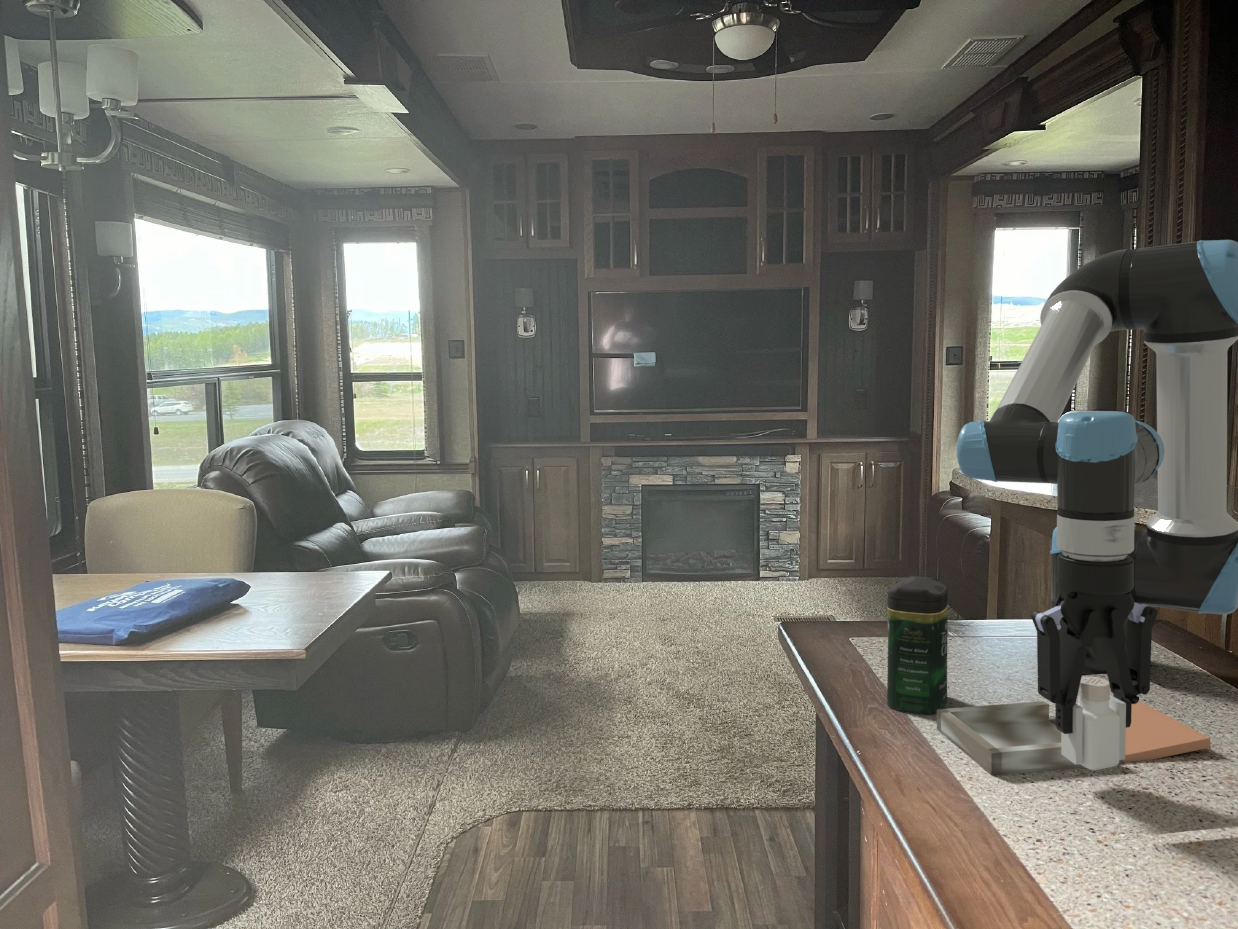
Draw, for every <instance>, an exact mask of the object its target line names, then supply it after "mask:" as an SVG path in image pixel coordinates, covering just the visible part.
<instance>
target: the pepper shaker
mask: <svg viewBox="0 0 1238 929" xmlns="http://www.w3.org/2000/svg"><path fill="white" fill-rule="evenodd" d="M1110 692H1111V689H1110V682H1109V680H1108V679H1107V680H1106V679H1105V678H1101V677H1098V676H1082V677H1081V682H1080V686H1079V691H1078V695H1077V701H1078V702H1077V704H1078V705H1079V706H1081V707H1082V708H1083V737H1082V764H1080V765H1082V766H1084V767H1085V768H1086V769H1087V770H1091V771H1098V770H1103V769H1107V768H1108V769H1109V768H1112V767H1117V766H1118V765H1119V764H1120V763H1119V736H1120V717H1119V715H1118V713H1117V712H1115V711H1114V710H1113V709H1111V708H1109V700H1110V697H1109V695H1111V694H1110Z"/></svg>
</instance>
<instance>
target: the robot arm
mask: <svg viewBox="0 0 1238 929" xmlns="http://www.w3.org/2000/svg"><path fill="white" fill-rule="evenodd" d="M1039 321H1040V325H1041V326H1040V328H1038V331H1037V333H1036V335H1035V337H1034V339H1033V340H1032V343H1031V344H1030V346H1029V348H1028V350H1027V351H1026V354H1025V355H1024V357H1023V358H1022V361H1021V363H1020V365H1019V367H1018V369H1017V370H1016V372H1015V374H1014V376H1013V377H1012V379H1011V381H1010V384H1009V385H1008V387H1007V389H1006V391H1005V392H1004V394H1003V396H1002V398H1001V400H1000V402H999V404H998V405H997V407H996V410H995V412H993V414H992V416H991V418H990V420H987V421H986V420H985V419H982V420H979V421H970V422H968V423H966V424H964V425H963V426H962V428H961V429H960V431H959V434H958V438H957V443H956V459H957V464H958V466H959V470H960V471H961V473H962V474H963V475H964V476H965V477H967V478H969V479H975V480H982V481H990V482H994V483H998V482H1004V483H1005V482H1007V483H1029V484H1030V483H1033V484H1034V483H1035V484H1052V485H1053V484H1054V485H1056V491H1057V492H1056V496H1057V498H1056V500H1057V503H1056V504H1057V505H1056V506H1057V507H1056V508H1057V510H1056V527H1055V528H1053V531H1052V540H1051V549H1050V551H1049V552H1050V555H1051V556H1050V558H1051V559H1050V561H1051V562H1050V564H1051V565H1050V567H1051V570H1050V571H1051V572H1050V577H1051V578H1050V595H1051V596H1050V609H1047V610H1046V611H1044V612H1041V611H1039V610H1036V611H1035V610H1034V612H1032V614H1031V620H1032V623H1033V625H1034V628H1035V630H1036V643H1037V644H1036V654H1037V658H1036V659H1037V660H1036V661H1037V662H1036V663H1037V692H1038V694H1039V695H1040V696H1041V697H1042V698H1044V699H1046V700H1047V701H1049V702H1051V703H1052V704H1055V711H1054V712H1055V713H1054V714H1055V715H1054V716H1055V725H1056V728H1057V729H1058V730H1059V731H1061V732H1062V736H1061V754H1062V755H1063V756H1064V757H1066V758H1067V759H1069V760H1070V761H1071V762H1073V763H1074V764H1076V765H1078V764H1082V737H1083V708H1082V707H1081V706H1079V705H1078V703H1077V701H1078V696H1077V695H1078V691H1079V686H1080V682H1081V677H1083V675H1087V676H1093V675H1106V674H1107V681H1108V682H1110V692H1111V694H1110V695H1109V697H1110V700H1109V708H1111V709H1113V710H1114V711H1115V712H1117V713H1118V715H1119V717H1120V736H1119V760H1125V740H1126V728H1127V727H1130V725H1131V711H1132V704H1136V703H1138V701H1140V697H1139V695H1147V694H1148V693H1149V692H1150V690H1151V667H1152V666H1151V662H1152V640H1153V639H1152V635H1153V631H1152V629H1153V627H1154V624H1155V621H1156V619H1157V616H1158V610H1157V608H1163V609H1170V610H1177V611H1183V612H1185V611H1186V612H1191V613H1196V614H1199V615H1201V614H1211V615H1230V614H1233V613H1234V612H1235V611H1236V610H1237V609H1238V521H1237V520H1236V519H1235V518H1233V517H1232V516H1231V515H1230V514H1229V513H1228V512H1227V511H1228V510H1227V508H1228V507H1227V493H1228V490H1227V484H1228V481H1227V480H1228V479H1227V478H1228V467H1227V466H1228V461H1227V460H1228V456H1227V455H1228V351H1229V348H1230V347H1231V346H1233V344H1235V343H1236V341H1238V241H1235V240H1232V239H1219V240H1217V239H1216V240H1215V239H1213V240H1212V239H1211V240H1203V239H1201V240H1198V241H1190V242H1181V243H1174V244H1167V245H1158V246H1150V247H1149V246H1148V247H1140V248H1127V249H1125V248H1124V249H1118V250H1114V251H1112V252H1111V251H1110V252H1108V253H1105V254H1102V255H1100V256H1098V257H1095V258H1093V259H1092V260H1090V261H1088V262H1087V263H1085V264H1083V265H1082V266H1080V267H1079V268H1078V269H1076V270H1074V271H1073V272H1072V273H1070V274H1069V275H1068V276H1067V277H1066V278H1065V279H1063V281H1061V282H1060V283H1059V284H1058V285H1057V286H1056V287H1055V289H1054V290H1053V291H1052V292H1051V293H1050V295H1049V297H1048V298H1047V300H1046V301H1045V303H1044V304H1043V306H1042V309H1041V311H1040V316H1039ZM1124 330H1125V331H1126V330H1127V331H1130V330H1131V331H1132V330H1133V331H1134V330H1136V331H1137V330H1143V343H1144V344H1145V346H1147V347H1149V348H1150V349H1151V350H1152V351H1153V352H1155V355H1156V357H1155V358H1156V360H1155V361H1156V428H1157V429H1154V428H1153V427H1152V426H1151V425H1149V424H1147V423H1145V422H1142V421H1139V420H1136V419H1135V417H1134V416H1133V415H1132V414H1131V413H1128V412H1126V411H1125V412H1124V411H1118V410H1117V411H1115V410H1095V411H1093V410H1092V411H1088V410H1087V411H1079V412H1078V411H1077V412H1069V413H1064V414H1063V412H1064V409H1065V408H1066V405H1067V404H1068V401H1069V400H1070V398H1071V396H1072V393H1073V391H1074V390H1075V387H1076V385H1077V383H1078V381H1079V379H1080V377H1081V375H1082V373H1083V371H1084V369H1085V367H1086V365H1087V362H1088V360H1089V358H1090V357H1091V356H1090V355H1091V354H1092V352H1093V349H1094V348H1095V346H1096V345H1098V344H1101V343H1102V342H1103V341H1104V340H1105V339H1106V338H1107V336H1108V335H1109V334H1110V333H1111V332H1115V331H1124ZM1062 414H1063V415H1062ZM1156 472H1157V511H1156V513H1154V514H1153V515H1151V516H1150V518H1148V519H1147V520H1146V529H1140V528H1136V526H1137V524H1136V523H1135V500H1136V499H1135V497H1136V496H1135V494H1136V486H1137V485H1139V484H1140V485H1141V484H1142V483H1145V482H1146V481H1148V480H1150V479H1151V478H1152V476H1153V475H1154V474H1155V473H1156ZM1112 694H1113V695H1112Z"/></svg>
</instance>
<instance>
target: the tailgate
mask: <svg viewBox="0 0 1238 929" xmlns="http://www.w3.org/2000/svg"><path fill="white" fill-rule="evenodd" d="M1055 717H1056V716H1055V715H1051V716H1049V721H1050V722H1051V723H1053V724H1054V725H1055ZM1211 747H1212V746H1211V738H1210V737H1209V736H1207V735H1205V734H1203V733H1201V732H1200V731H1197V730H1196V729H1193V728H1191V727H1190V726H1188V725H1186V724H1184V723H1182V722H1180V721H1178V720H1176V719H1174V718H1173V717H1170V716H1169V715H1167V714H1164V713H1162V712H1161V711H1159V710H1157V709H1155V708H1153V707H1151V706H1149V705H1147V704H1145V703H1144V702H1141V701H1140V700H1139V701H1138V703H1136V704H1132V711H1131V725H1130V727H1127V728H1126V740H1125V760H1119V763H1118V764H1120V763H1122V764H1123V763H1124V762H1133V761H1134V762H1135V761H1137V762H1138V761H1145V760H1147V761H1148V760H1154V759H1155V760H1157V759H1161V758H1167V757H1171V756H1176V755H1179V754H1184V753H1190V752H1191V753H1192V752H1194V751H1195V752H1196V751H1199V750H1204V749H1205V750H1206V749H1210V748H1211Z"/></svg>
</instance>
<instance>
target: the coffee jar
mask: <svg viewBox="0 0 1238 929" xmlns="http://www.w3.org/2000/svg"><path fill="white" fill-rule="evenodd" d="M948 592H949V590H948V587H947V586H946V585H945V584H944V583H942V581H940V580H939V579H938V578H934V577H927V576H914V575H909V576H908V578H905V579H903V580H900V581H899V582H896V583H895V584H893V586H891V587H890V588H889V589H888V592H887V603H886V604H887V608H886V609H887V676H886V677H887V678H886V681H887V682H886V683H887V685H886V704H887V707H888V708H889V709H892V710H894V711H897V712H902V713H907V714H913V715H914V714H915V715H923V716H924V715H928V716H930V715H931V716H932V715H937V709H945V707H946V706H947V702H948V625H949V624H948V621H949V618H948V617H949V615H948V614H949V600H948V599H949V598H948V597H949V596H948V594H949V593H948Z"/></svg>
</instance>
